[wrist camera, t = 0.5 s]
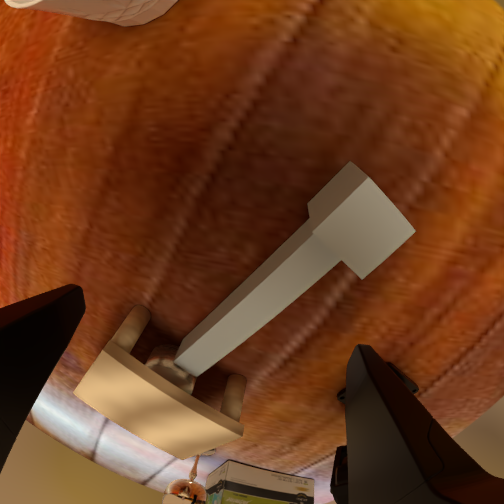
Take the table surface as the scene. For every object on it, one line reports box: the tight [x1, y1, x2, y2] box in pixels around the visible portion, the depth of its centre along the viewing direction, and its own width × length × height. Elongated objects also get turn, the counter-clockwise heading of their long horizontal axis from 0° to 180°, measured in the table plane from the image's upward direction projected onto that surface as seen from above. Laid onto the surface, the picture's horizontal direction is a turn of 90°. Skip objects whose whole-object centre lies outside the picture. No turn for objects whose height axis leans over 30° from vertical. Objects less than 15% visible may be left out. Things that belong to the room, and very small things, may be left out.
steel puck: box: [145, 344, 197, 395], centre depth 27 cm, size 5×5×3 cm
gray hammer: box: [173, 161, 416, 377], centre depth 20 cm, size 4×20×5 cm, turn 139°
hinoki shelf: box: [73, 305, 247, 460], centre depth 25 cm, size 13×10×6 cm
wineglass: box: [162, 448, 216, 504], centre depth 30 cm, size 6×6×12 cm
